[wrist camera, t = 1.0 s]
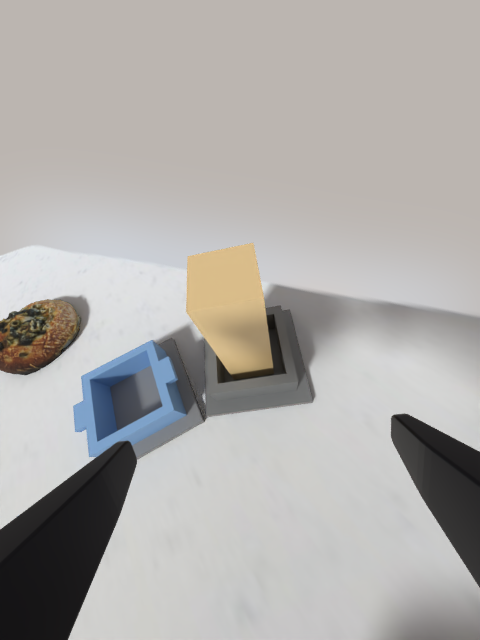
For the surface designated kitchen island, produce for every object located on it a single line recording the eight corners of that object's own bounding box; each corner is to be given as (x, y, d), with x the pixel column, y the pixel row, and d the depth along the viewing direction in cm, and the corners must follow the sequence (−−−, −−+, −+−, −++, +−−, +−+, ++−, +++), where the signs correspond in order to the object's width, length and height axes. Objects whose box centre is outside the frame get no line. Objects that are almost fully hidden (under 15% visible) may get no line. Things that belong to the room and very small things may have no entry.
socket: (312, 402, 21) (317, 394, 18) (207, 416, 22) (195, 411, 19) (289, 312, 26) (290, 293, 23) (205, 326, 27) (195, 311, 24)
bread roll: (-8, 390, 28) (-56, 372, 24) (21, 324, 35) (-12, 302, 31) (82, 359, 28) (49, 337, 24) (92, 300, 35) (68, 275, 31)
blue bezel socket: (204, 421, 22) (191, 416, 19) (106, 476, 21) (76, 480, 18) (173, 340, 27) (159, 325, 24) (94, 381, 26) (68, 371, 23)
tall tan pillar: (274, 373, 22) (263, 297, 11) (234, 379, 23) (186, 311, 12) (267, 337, 24) (253, 242, 13) (231, 343, 25) (187, 256, 14)
